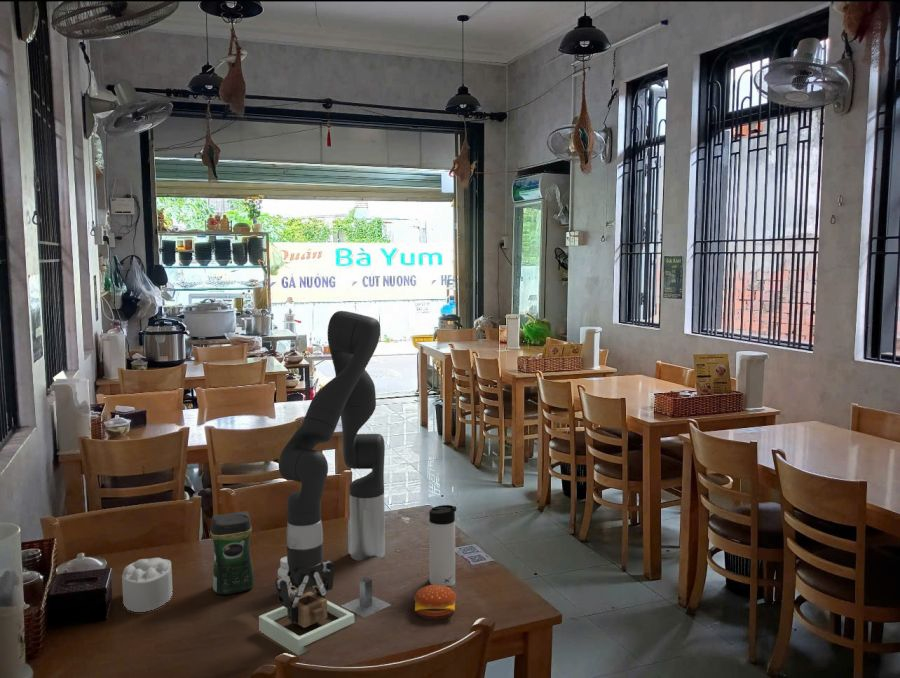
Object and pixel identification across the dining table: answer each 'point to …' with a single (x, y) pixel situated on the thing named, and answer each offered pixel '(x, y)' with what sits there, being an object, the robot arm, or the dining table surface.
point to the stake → (365, 600)
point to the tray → (298, 642)
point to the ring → (311, 609)
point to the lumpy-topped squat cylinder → (147, 584)
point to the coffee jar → (232, 553)
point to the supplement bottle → (284, 569)
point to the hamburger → (435, 602)
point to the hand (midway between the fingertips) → (306, 616)
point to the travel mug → (442, 545)
